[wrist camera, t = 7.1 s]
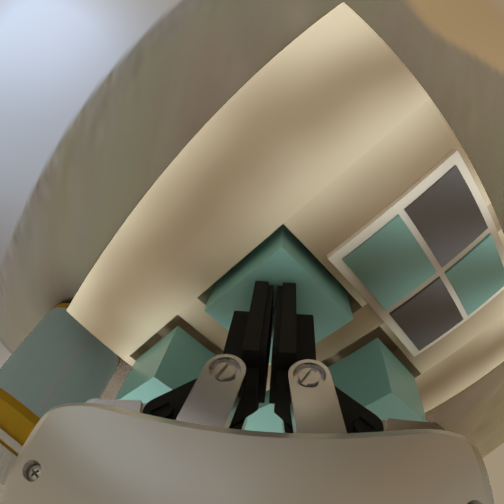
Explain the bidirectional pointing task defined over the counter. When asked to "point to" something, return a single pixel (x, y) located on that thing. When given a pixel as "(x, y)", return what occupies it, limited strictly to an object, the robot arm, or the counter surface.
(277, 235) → the button
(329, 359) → the button board
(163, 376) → the button
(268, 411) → the button
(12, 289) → the counter surface
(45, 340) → the bottle
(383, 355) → the button
